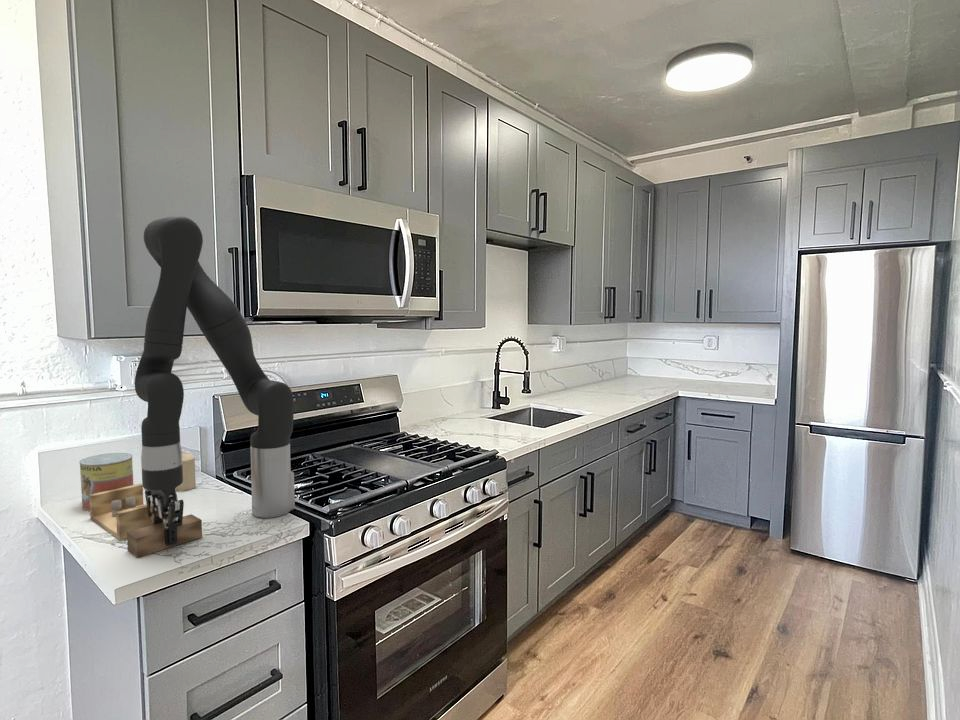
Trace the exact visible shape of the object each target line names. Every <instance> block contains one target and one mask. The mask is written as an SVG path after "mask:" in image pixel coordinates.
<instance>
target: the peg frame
mask: <svg viewBox="0 0 960 720" xmlns="http://www.w3.org/2000/svg"><path fill="white" fill-rule="evenodd" d="M89 501H90V512H89V515H90V518H89V519H90V520H92V521H93V522H94V523H95V524H96V525H98V526H99V527H101V528H102V529H104V530H105V531H106V532H108V533H109V534H111V535H112V536H113V537H114V538H116V539H118V541H124V540H127V532H129V531H133V530H137V529H140V528H144V527H147V526H151V525H153V522H152V520H151V517H149V516H148V511H147V504H144V488H143V486H142V483H137V484H133V485H132V486H127V487H122V488H118V489H113V490H109V491H104V492H100V493H95V494H90V495H89ZM166 514H168V512H166ZM167 520H168V518H167Z"/></svg>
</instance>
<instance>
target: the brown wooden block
mask: <svg viewBox="0 0 960 720" xmlns="http://www.w3.org/2000/svg"><path fill="white" fill-rule="evenodd" d="M202 522H203V521H202V519H201V518H199V517H197V516H195V515H194V514H192V513H190V514H188V515H183V520H182V525H181V526H177V543H176V544H174V545H170V546H167V545H165V530H164V529H165V528H164V523H163V522H162V523H158V524H155V525H151V526H147V527H144V528H140V529H137V530H133V531H129V532H127V539H126V540H127V541H126V542H127V552H129V553H130V552H131V553H130V554H132V555H133V556H134V555H135V556H134V557H135V558H141V557H143V555H144V556H147V555H149V554H153V553H156V552H160V551H163V550H166V549H169V548H171V547H172V548H173V547H175V546H178V545H181V544H184V543H187V542H191V541H194V539H195V540H197V538H198V539H200V538H201V539H202V538H203V525H202V524H203V523H202ZM146 554H147V555H146ZM140 556H141V557H140Z"/></svg>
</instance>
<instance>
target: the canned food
mask: <svg viewBox="0 0 960 720" xmlns="http://www.w3.org/2000/svg"><path fill="white" fill-rule="evenodd" d="M78 463H79V468H80V470H79V471H80V489H81V509H82V510H83V511H85V512H89V513H90V501H89V495H90V494H95V493H100V492H104V491H109V490H113V489H118V488H122V487H127V486H132V485H134V469H133V467H134V466H133V454H131V453H127V452H112V453H102V454H96V455H92V456H87V457H85V458H82V459H81V460H79V462H78Z"/></svg>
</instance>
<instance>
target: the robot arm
mask: <svg viewBox="0 0 960 720" xmlns="http://www.w3.org/2000/svg"><path fill="white" fill-rule="evenodd" d="M203 238H204V237H203V233H202V231H201V229H200V226H199V225H198V224H197V223H196V222H195V221H194V220H192V219H190V218H189V217H186V216H183V215H182V216H181V215H170V216H166V217H163V218H162V217H161V218H158V219H155V220H153V221H151V222H149V223H148V224H147V225H146V227H145V228H144V230H143V241H144V245H145V248H146V250H147V251H148V253H149V254H150V255H151V257H152V258H153V260H154V261H155V262H156V263H157V265H158V266H159V267H160V273H159V279H158V285H157V287H156V291H155V293H154V297H153V299H152V301H151V304H150V307H149V310H148V314H147V318H146V323H145V331H144V342H143V352H142V354H141V356H140V359H139V363H138V366H137V369H136V373H135V375H134V376H135V377H134V391H135V393H136V396H137V397H138V398H139V399H140V400H142V401H144V402H145V403H147V414H146V415H147V417H145V418H144V419H143V420H142V421H141V426H140V427H141V431H140V433H141V453H140V460H141V481H142V482H141V484H142V486H143V490H144V496H145V502H146V503H145V505H147V511H148V516H149V517H151V520H152V522H153V525H155V524H158V523H162V522H163V523H164V528H165V529H164V530H165V545H167V546H170V545H174V544H176V543H177V526H181V525H182V520H183V516H184V507H185V504H184V503H185V502H184V499H178V495H177V491H175V488H176V487H177V486H179V485H181V484H182V482H183V466H182V453H183V450H182V445H181V429H180V420H181V415H182V410H183V404H184V398H185V395H184V394H185V393H184V391H185V390H184V386H183V382H182V380H181V379H180V377H179V376H177V374H175V373H172V370H173V367H174V363H175V361H176V360H178V359H179V358H180V357H181V355H182V353H183V352H182V351H183V344H184V343H183V342H184V335H185V334H184V333H185V325H186V324H185V322H186V315H187V309H188V311H189V313H190V314H191V315H192V317H193V319H194V321H195V323H196V324H197V326H198V328H199V329H200V331H201V332H202V334H203V336H204V337H205V340H206V341H207V342H208V344H209V345H210V347H211V348H212V350H213V351H214V352H215V355H216V356H217V357H218V359H219V361H220V362H221V364H222V365H223V367H224V368H225V370H226V371H227V372H228V375H229V376H230V377H231V379H232V381H233V384H234V385H235V387H236V390H237V392H238V394H239V398H240V399H241V400H242V403H243V405H244V407H245V408H246V409H247V410H248V411H249V412H250V413H251V414H253V415H255V416H258V417H257V418H258V419H257V420H258V422H257V430H256V431H254V432H252V433H251V435H250V437H249V439H250V440H249V442H250V449H249V450H250V475H251V476H250V477H251V481H250V482H251V514H252V515H253V516H254V517H257V518H263V519H264V518H268V519H269V518H276V517H281V516H283V515H286V514H288V513H290V512H291V511H292V510H295V509H296V504H295V503H296V502H295V501H296V500H295V472H294V471H292V470H291V466H292V465H291V436H292V434H293V431H294V430H293V429H294V417H295V416H294V412H295V410H294V409H295V407H294V406H295V402H294V401H295V400H294V394H293V391H292V389H291V387H290V386H289V385H288V384H287V383H284V382H282V381H277V380H271V379H270V378H268V376H267V375H266V374H265V372H264V370H263V369H262V368H261V366H260V364H259V363H258V361H257V358H256V355H255V353H254V347H253V338H252V334H251V330H250V329H249V327H248V326H249V325H248V324H247V322H246V320H245V318H244V317H243V315H242V313H241V311H240V310H239V308H238V307H237V305H236V303H234V301H233V300H232V299H231V298H230V297H229V296H228V295H227V294H226V292H224V291H223V290H222V289H221V288H220V287H219V286H218V285H217V284H216V283H215V282H214V281H213V280H212V279H211V277H209V276H208V275H207V273H206V272H205V270H204V268H203V266H201V264H200V261H199V259H200V255H201V252H202V250H203V249H202V248H203V242H204V241H203ZM166 512H168V514H166ZM167 518H168V520H167Z"/></svg>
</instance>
